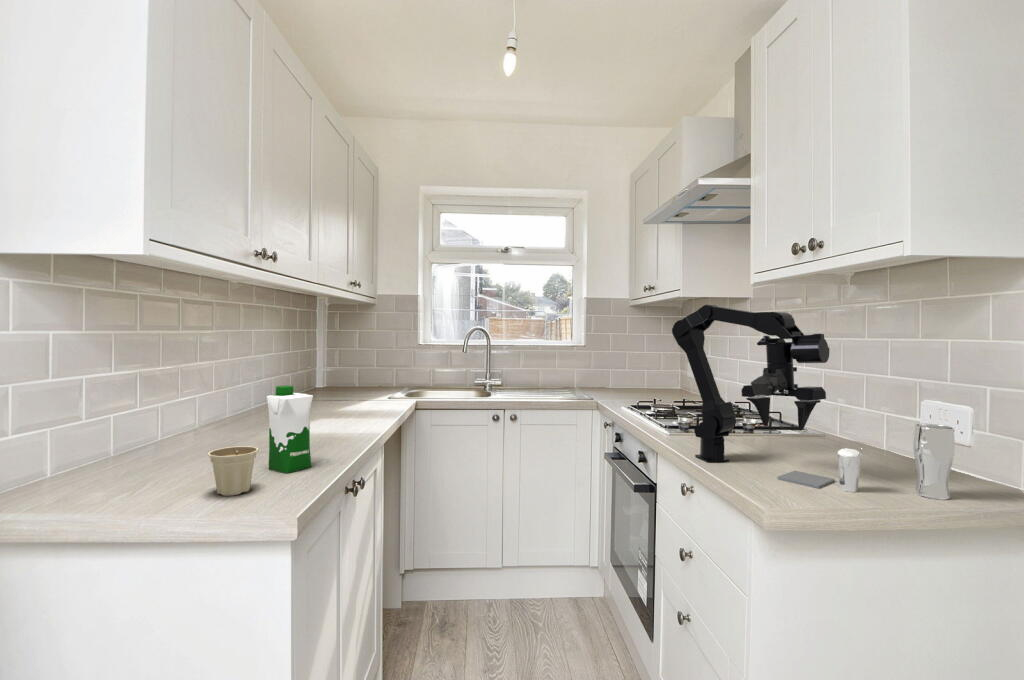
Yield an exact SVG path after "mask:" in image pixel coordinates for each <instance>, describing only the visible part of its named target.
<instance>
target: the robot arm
mask: <svg viewBox="0 0 1024 680" xmlns="http://www.w3.org/2000/svg"><path fill="white" fill-rule="evenodd" d="M715 321H718V322H722V323H727V324H733V325H739V326H742V327H743V326H744V327H748V328H752V329H753V330H755V331H757V332H760V333H762V334H765V335H764V336H763V337H762V338H761V339H760V340H759V341H758V342H756V345H757V346H765V350H766V367H764V368H763V370H762V375H761V376H757V378H755V379H753V380H752V381H750V384H745V385H743V387H742V389H741V397H745V399H746V401H749V402H750V403H752V404H753V405H754V407H755V409H756V411H757V412H758V414H759V417H760V420H761V422H762V424H763V426H764V427H768V426H769V422H770V410H771V409H770V408H771V396H775V397H776V396H777V397H778V396H780V397H794V398H796V399H797V400H794V404H795V406H796V407H797V425H798V430H800V431H803V430H804V429H805V427H806V425H807V423H808V420H809V418H810V415H811V414H812V412H813V411H814V408H815V407H816V406H817V404H818V403H821V401H822V400H827V392H826V390H825V389H824V388H823V386H799V385H798V383H795V377H794V376H795V374H794V373H795V372H798V367H797V366H795V367H794V360H795V361H796V362H797V363H798V364H827V362H828V361H829V359H830V346H829V344H828V342H827V340H826V339H825V334H824V333H813V334H804V332H803V331H801V329H800V327H798V326H797V324H796V322H795V318H794V317H793V316H792V314H790V313H789V312H780V311H779V312H778V311H764V312H763V311H757V312H754V311H753V312H752V311H747V310H743V309H734V308H729V307H724V306H723V307H722V306H718V305H715V304H704V305H703V306H701V307H700V308H699V309H697V310H695V311H694V312H692V313H690V314H688V315H687V316H685V317H684V318H682V319H679V320H677V321H676V322H675V323H674V324H673V326H672V328H671V333H672V336H673V338H674V340H675V341H676V343H677V345H678V346H679V348H681V349H682V350H683V351H684V353H685V356H686V357H687V360H688V363H689V365H690V369H691V371H692V375H693V378H694V381H695V383H696V386H697V390H698V393H699V395H700V398H701V400H702V404H701V405H702V406H701V413H700V414H701V420H702V422H701V423H699V424H698V425H696V427H695V428H694V429H693V430H694V431H693V432H694V435H695V437H696V438H700V442H699V444H700V449H699V450H700V451H699V454H694V455H695V456H694V457H695V458H698V459H700V460H702V461H704V462H706V463H716V462H718V463H719V462H720V463H721V462H729V461H730V459H729V458H727V457H725V438H724V437H728V436H729V435H730V432H731V431H732V430H733V429H734V428H735V426H736V424H737V420H736V417H737V414H736V412H735V411H734V406H733V403H732V402H731V401H725V400H724V399H723V398H722V397H721V394H720V391H719V389H718V388H719V387H718V386H717V382H716V380H715V377H714V375H713V372H712V369H711V365H710V364H709V363H710V362H709V360H708V358H707V357H708V356H707V355H706V352H705V349H704V346H705V340H706V339H705V333H704V332H705V331H706V330H708V329H709V328H710V327H711V326H712V324H713V323H714V322H715ZM770 336H774V337H775V336H777V337H776V338H772V337H770ZM786 340H791V341H787V342H786ZM798 386H799V387H798Z"/></svg>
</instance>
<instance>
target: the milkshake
mask: <svg viewBox="0 0 1024 680" xmlns="http://www.w3.org/2000/svg"><path fill="white" fill-rule="evenodd" d="M863 450H864V448H862V447H861V449H860V450H859V451H858V449H857V450H856V449H852V448H847V447H845V448H840V449H839V450H838V451H837V459H838V460H837V463H838V464H837V465H838V477H839V479H838V480H839V489H840V490H841V491H844V492H849V493H855V492H858V489H859V481H860V480H859V478H860V471H861V465H862V464H861V463H862V457H863V455H862V452H863Z"/></svg>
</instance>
